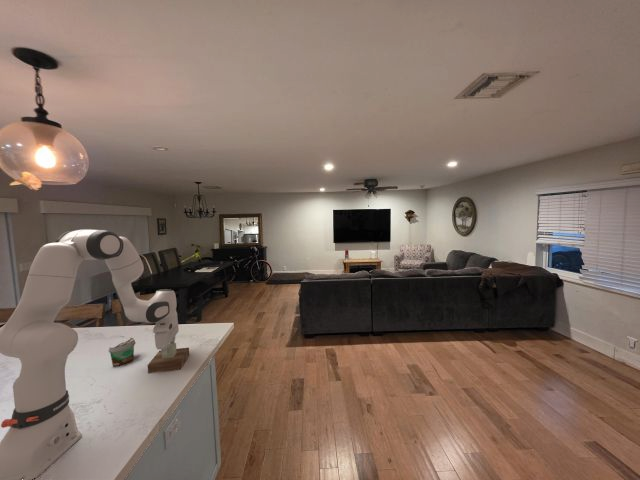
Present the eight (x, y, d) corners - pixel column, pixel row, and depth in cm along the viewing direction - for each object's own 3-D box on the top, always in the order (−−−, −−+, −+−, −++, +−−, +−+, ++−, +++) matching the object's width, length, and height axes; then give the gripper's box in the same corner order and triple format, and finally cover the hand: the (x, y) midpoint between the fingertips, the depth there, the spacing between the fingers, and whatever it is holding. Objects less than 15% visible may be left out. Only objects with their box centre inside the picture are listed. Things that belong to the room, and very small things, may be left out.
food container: (120, 369, 126) (118, 349, 126) (109, 368, 127) (108, 348, 127) (142, 356, 138) (141, 337, 138) (132, 355, 139) (131, 337, 139)
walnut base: (181, 369, 125) (180, 361, 125) (148, 373, 122) (147, 365, 122) (189, 354, 139) (189, 347, 138) (159, 358, 136) (159, 350, 136)
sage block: (173, 357, 128) (172, 347, 128) (161, 359, 127) (161, 348, 127) (176, 352, 133) (176, 343, 133) (165, 353, 132) (165, 344, 132)
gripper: (167, 315, 138) (169, 341, 139) (151, 330, 118) (153, 360, 119) (181, 314, 140) (182, 339, 141) (166, 329, 120) (168, 359, 121)
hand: (169, 349), depth 130 cm, fingers open, 8 cm apart
